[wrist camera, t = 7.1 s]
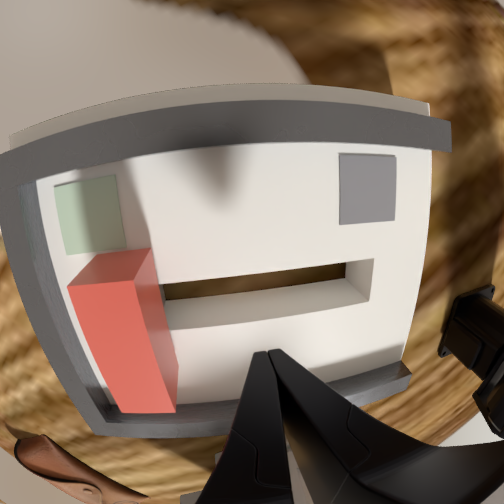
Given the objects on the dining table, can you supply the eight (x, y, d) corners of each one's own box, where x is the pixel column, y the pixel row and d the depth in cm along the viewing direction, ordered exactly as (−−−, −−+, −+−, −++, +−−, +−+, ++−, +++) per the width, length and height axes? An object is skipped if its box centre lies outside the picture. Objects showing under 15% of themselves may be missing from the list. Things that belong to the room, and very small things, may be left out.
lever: (160, 230, 13) (133, 280, 8) (181, 336, 15) (175, 412, 10) (114, 237, 13) (66, 286, 7) (141, 339, 15) (122, 412, 9)
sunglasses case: (156, 499, 24) (138, 533, 19) (130, 483, 28) (113, 513, 23) (41, 431, 18) (15, 471, 13) (30, 417, 22) (8, 451, 16)
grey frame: (430, 121, 11) (450, 121, 9) (395, 375, 16) (405, 389, 15) (10, 156, 8) (-9, 158, 7) (99, 417, 14) (95, 434, 13)
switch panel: (395, 107, 13) (430, 103, 10) (374, 361, 19) (392, 386, 17) (40, 136, 11) (8, 135, 8) (113, 396, 17) (105, 427, 14)
